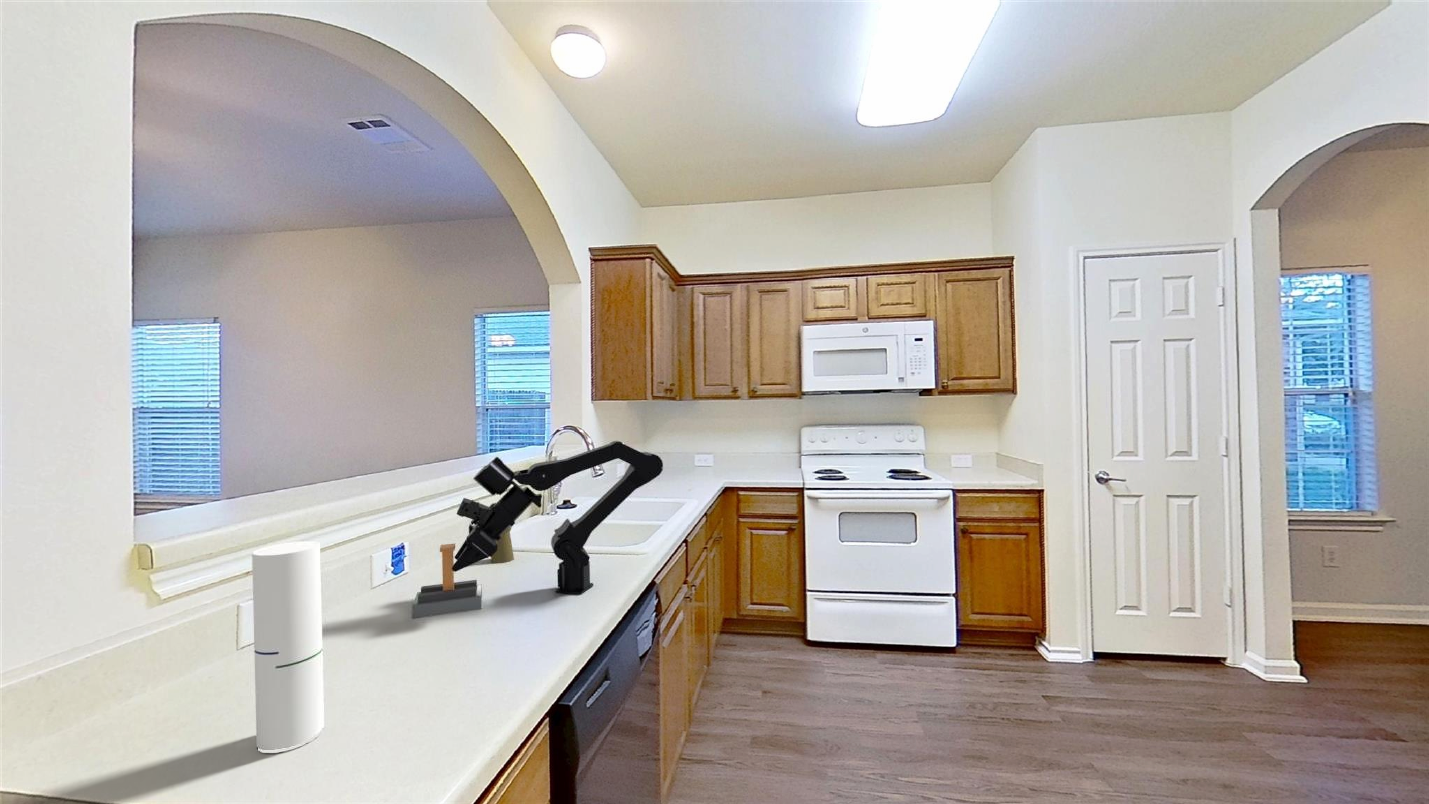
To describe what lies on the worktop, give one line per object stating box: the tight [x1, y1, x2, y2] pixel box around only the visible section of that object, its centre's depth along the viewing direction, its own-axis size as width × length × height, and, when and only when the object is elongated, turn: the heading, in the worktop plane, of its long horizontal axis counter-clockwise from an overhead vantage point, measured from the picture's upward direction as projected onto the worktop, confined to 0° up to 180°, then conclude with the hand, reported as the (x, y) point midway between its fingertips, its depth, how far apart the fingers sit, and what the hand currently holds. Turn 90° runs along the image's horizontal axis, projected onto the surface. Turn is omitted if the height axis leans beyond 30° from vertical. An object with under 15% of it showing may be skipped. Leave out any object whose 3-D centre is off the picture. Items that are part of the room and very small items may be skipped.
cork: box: [490, 526, 515, 564], centre depth 158 cm, size 6×6×11 cm
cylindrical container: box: [251, 540, 325, 750], centre depth 75 cm, size 7×7×25 cm
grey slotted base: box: [411, 579, 483, 619], centre depth 123 cm, size 13×9×4 cm
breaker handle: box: [439, 543, 456, 591], centre depth 123 cm, size 3×3×10 cm
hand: (454, 564), depth 123 cm, fingers open, 9 cm apart
